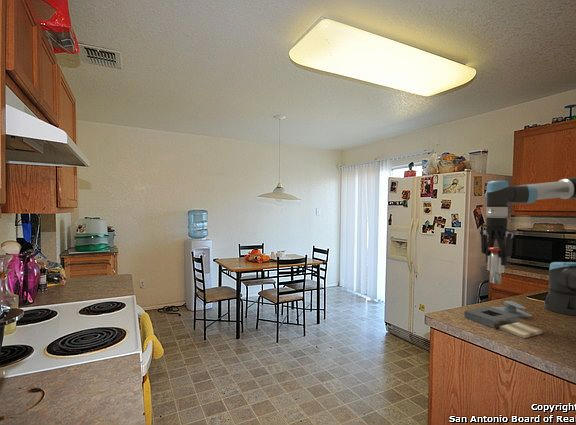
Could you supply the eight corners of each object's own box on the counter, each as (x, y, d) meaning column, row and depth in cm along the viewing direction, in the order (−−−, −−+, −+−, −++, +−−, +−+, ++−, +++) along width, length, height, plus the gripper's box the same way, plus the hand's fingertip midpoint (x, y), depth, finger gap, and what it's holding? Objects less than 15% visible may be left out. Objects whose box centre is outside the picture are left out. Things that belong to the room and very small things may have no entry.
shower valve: (510, 307, 135) (487, 297, 150) (509, 320, 135) (487, 308, 150) (538, 307, 135) (513, 297, 150) (537, 320, 135) (513, 308, 150)
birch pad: (517, 324, 129) (518, 321, 129) (542, 333, 121) (542, 330, 121) (499, 329, 124) (499, 326, 124) (524, 338, 116) (524, 335, 116)
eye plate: (488, 312, 143) (488, 306, 143) (518, 322, 131) (518, 315, 131) (464, 317, 137) (464, 310, 137) (494, 328, 125) (494, 321, 125)
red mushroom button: (493, 280, 136) (493, 246, 136) (507, 283, 131) (508, 248, 130) (483, 281, 134) (484, 247, 133) (497, 285, 128) (498, 249, 128)
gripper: (472, 216, 138) (471, 268, 139) (512, 218, 122) (510, 276, 123) (483, 216, 141) (482, 267, 141) (524, 217, 125) (522, 275, 126)
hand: (495, 271), depth 132 cm, fingers closed on red mushroom button, 4 cm apart
